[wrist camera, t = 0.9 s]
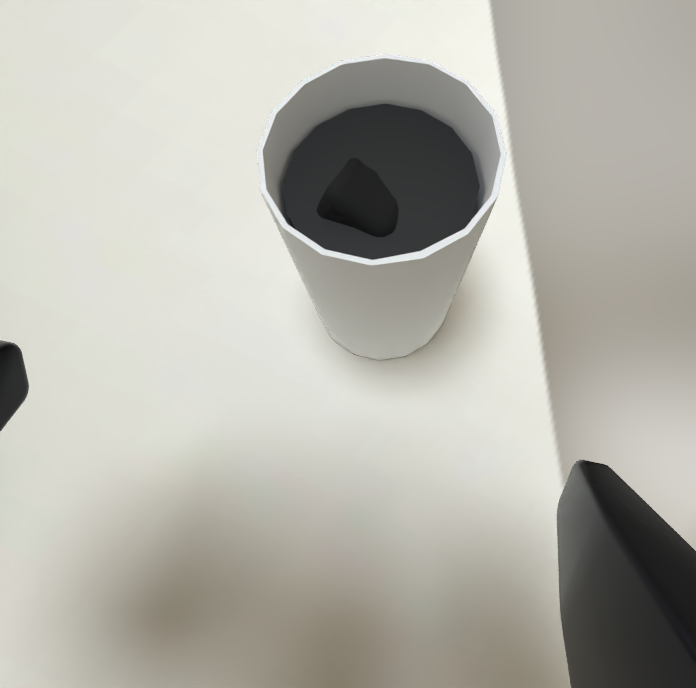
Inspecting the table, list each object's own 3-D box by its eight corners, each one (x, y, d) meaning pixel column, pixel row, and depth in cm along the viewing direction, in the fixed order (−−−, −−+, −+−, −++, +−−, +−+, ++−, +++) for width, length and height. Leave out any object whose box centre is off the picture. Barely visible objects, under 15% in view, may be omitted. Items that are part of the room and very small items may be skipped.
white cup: (419, 396, 22) (444, 307, 13) (280, 331, 24) (210, 206, 14) (482, 264, 24) (544, 99, 15) (349, 210, 25) (326, 26, 16)
